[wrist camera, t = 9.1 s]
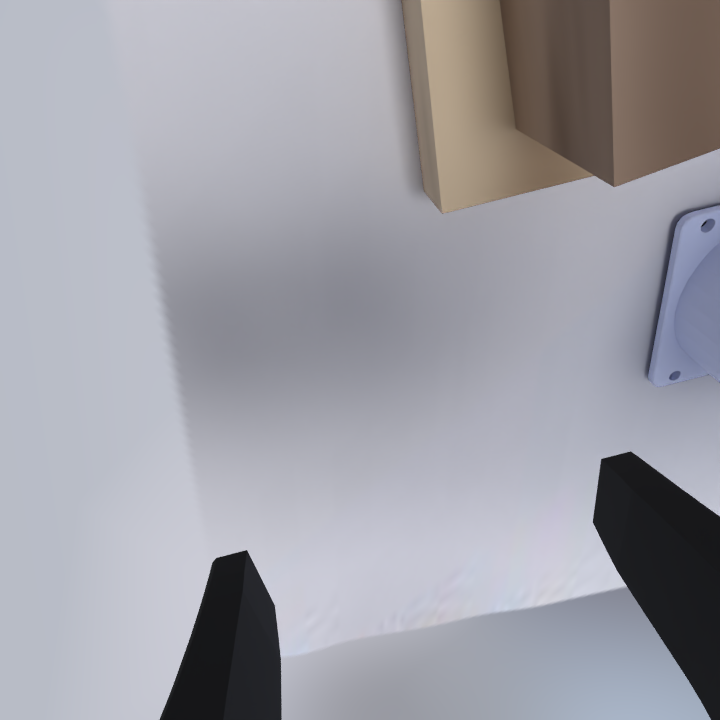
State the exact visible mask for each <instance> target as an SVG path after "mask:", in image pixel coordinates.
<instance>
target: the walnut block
mask: <svg viewBox="0 0 720 720" xmlns="http://www.w3.org/2000/svg"><path fill="white" fill-rule="evenodd" d="M499 1H500V8H501V16H502V24H503V32H504V40H505V47H506V55H507V63H508V71H509V78H510V86H511V94H512V102H513V110H514V117H515V125H516V129H517V130H518V131H520V132H522V133H523V134H525V135H527V136H528V137H530V138H532V139H533V140H535V141H537V142H539V143H540V144H542V145H544V146H545V147H547V148H549V149H550V150H552V151H554V152H556V153H557V154H559V155H561V156H562V157H564V158H566V159H567V160H569V161H571V162H573V163H574V164H576V165H578V166H579V167H581V168H583V169H584V170H586V171H588V172H589V173H591V174H593V175H595V176H596V177H598V178H600V179H601V180H603V181H605V182H606V183H608V184H610V185H612V186H613V187H616V186H619V185H621V184H624V183H627V182H630V181H632V180H635V179H638V178H640V177H643V176H646V175H649V174H651V173H654V172H657V171H660V170H662V169H665V168H668V167H670V166H673V165H676V164H679V163H681V162H684V161H687V160H690V159H692V158H695V157H698V156H700V155H703V154H706V153H709V152H711V151H714V150H717V149H719V148H720V0H499Z"/></svg>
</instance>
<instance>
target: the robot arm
mask: <svg viewBox="0 0 720 720" xmlns="http://www.w3.org/2000/svg"><path fill="white" fill-rule="evenodd" d="M706 220H707V222H706V224H705V225H704V226H703V227H701V226H702V224H703V223H704V222H705V221H706ZM709 374H710V375H711V376H712V377H713V378H715V379H716V380H717V381H718V382H719V383H720V205H718V206H714V207H710V208H706V209H702V210H698V211H694V212H690V213H688V214H686V215H684V216H683V217H682V218H681V219H680V220H679V222H678V223H677V225H676V228H675V233H674V239H673V244H672V250H671V255H670V260H669V266H668V271H667V277H666V282H665V288H664V293H663V299H662V304H661V309H660V315H659V320H658V326H657V331H656V337H655V342H654V348H653V353H652V358H651V364H650V369H649V375H648V380H649V381H650V382H651V383H652V384H653V385H654V386H656V387H662V386H666V385H670V384H674V383H678V382H682V381H686V380H689V379H693V378H697V377H701V376H705V375H709ZM593 523H594V525H595V527H596V530H597V532H598V534H599V536H600V538H601V540H602V542H603V544H604V546H605V548H606V550H607V552H608V554H609V556H610V558H611V560H612V562H613V564H614V565H615V567H616V569H617V571H618V573H619V574H620V576H621V577H622V579H623V581H624V582H625V584H626V585H627V587H628V588H629V590H630V591H631V593H632V595H633V596H634V598H635V599H636V601H637V602H638V604H639V605H640V607H641V608H642V610H643V612H644V613H645V614H646V616H647V617H648V619H649V621H650V622H651V624H652V625H653V627H654V628H655V630H656V631H657V633H658V634H659V636H660V637H661V639H662V640H663V642H664V644H665V645H666V646H667V648H668V649H669V651H670V652H671V654H672V655H673V657H674V659H675V660H676V662H677V663H678V665H679V666H680V668H681V670H682V671H683V672H684V674H685V676H686V677H687V679H688V680H689V682H690V684H691V685H692V687H693V688H694V690H695V692H696V693H697V695H698V697H699V699H700V700H701V702H702V704H703V705H704V707H705V709H706V711H707V713H708V715H709V717H710V718H711V720H720V516H718V515H717V514H715V513H714V512H713V511H711V510H710V509H708V508H707V507H706V506H704V505H703V504H701V503H700V502H699V501H697V500H696V499H695V498H693V497H692V496H690V495H689V494H688V493H686V492H685V491H684V490H682V489H681V488H680V487H678V486H677V485H675V484H674V483H673V482H671V481H670V480H669V479H667V478H666V477H665V476H663V475H662V474H661V473H659V472H658V471H657V470H655V469H654V468H653V467H651V466H650V465H649V464H647V463H646V462H645V461H643V460H642V459H641V458H639V457H638V456H637V455H635V454H634V453H632V452H627V453H623V454H619V455H615V456H611V457H608V458H604V459H601V465H600V473H599V480H598V488H597V495H596V503H595V510H594V518H593ZM160 720H281V657H280V648H279V638H278V629H277V621H276V612H275V605H274V603H273V601H272V599H271V597H270V595H269V593H268V591H267V589H266V587H265V585H264V583H263V581H262V579H261V577H260V575H259V573H258V571H257V569H256V567H255V565H254V563H253V561H252V559H251V557H250V555H249V553H248V551H247V550H246V551H242V552H238V553H234V554H230V555H226V556H223V557H219V558H216V559H215V560H214V562H213V563H212V567H211V570H210V574H209V578H208V582H207V585H206V589H205V592H204V596H203V599H202V603H201V606H200V609H199V612H198V615H197V618H196V621H195V624H194V628H193V631H192V634H191V637H190V640H189V643H188V645H187V648H186V651H185V654H184V657H183V660H182V662H181V665H180V668H179V671H178V674H177V676H176V679H175V682H174V685H173V687H172V690H171V693H170V695H169V698H168V700H167V703H166V705H165V708H164V710H163V713H162V715H161V718H160Z"/></svg>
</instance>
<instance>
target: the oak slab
mask: <svg viewBox="0 0 720 720" xmlns="http://www.w3.org/2000/svg"><path fill="white" fill-rule="evenodd" d="M401 1H402V9H403V18H404V26H405V35H406V43H407V52H408V60H409V69H410V77H411V86H412V94H413V103H414V111H415V120H416V128H417V137H418V145H419V154H420V162H421V171H422V179H423V188H424V192H425V193H426V194H427V196H428V197H429V198H430V199H431V201H432V202H433V203H434V204H435V206H436V207H437V208H438V209H439V210H440V212H441V213H442V214H443V213H447V212H451V211H455V210H459V209H463V208H467V207H471V206H475V205H479V204H483V203H487V202H491V201H495V200H499V199H503V198H507V197H511V196H515V195H519V194H523V193H527V192H531V191H535V190H539V189H543V188H547V187H551V186H555V185H559V184H563V183H567V182H571V181H575V180H579V179H583V178H587V177H591V176H595V175H593V174H591V173H589V172H588V171H586V170H584V169H583V168H581V167H579V166H578V165H576V164H574V163H573V162H571V161H569V160H567V159H566V158H564V157H562V156H561V155H559V154H557V153H556V152H554V151H552V150H550V149H549V148H547V147H545V146H544V145H542V144H540V143H539V142H537V141H535V140H533V139H532V138H530V137H528V136H527V135H525V134H523V133H522V132H520V131H518V130H517V129H516V125H515V117H514V110H513V102H512V94H511V86H510V78H509V71H508V63H507V55H506V47H505V40H504V32H503V24H502V16H501V8H500V1H499V0H401Z"/></svg>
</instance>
